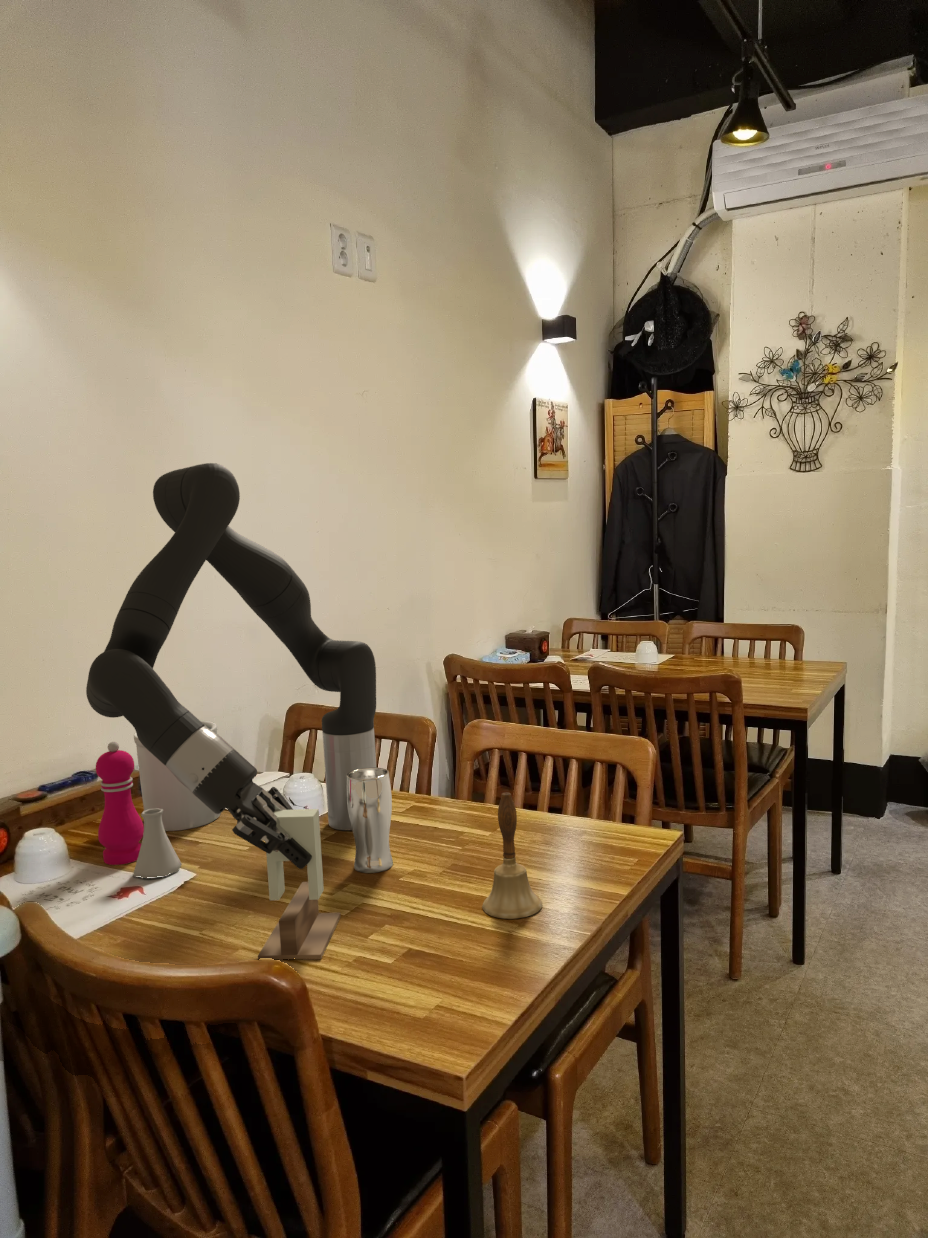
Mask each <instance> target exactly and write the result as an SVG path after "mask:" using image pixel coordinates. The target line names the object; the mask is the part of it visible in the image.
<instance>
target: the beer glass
mask: <svg viewBox="0 0 928 1238" xmlns="http://www.w3.org/2000/svg"><path fill="white" fill-rule="evenodd" d="M392 803H393V799H392V788H391V779H390V771H389V770H388V769H386V768H383V767H377V768H362V769H357V770H353V771H351V772H349V773H348V774H347V806H348V813H349V818H350V822H351V826H352V830H351V831H352V834H353V838H354V844H355V855H354V857H355V858H354V863H353V865H354V866H353V867H354V869H355V871H356V872H359V873H364V874H375V873H381V872H385V871H387V870H390V868H392V867H393V864H394V861H393V856H392V853H391V848H390V831H391V829H390V828H391V820H392V809H393V804H392Z"/></svg>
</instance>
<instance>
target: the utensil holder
mask: <svg viewBox="0 0 928 1238" xmlns="http://www.w3.org/2000/svg"><path fill="white" fill-rule="evenodd" d="M199 720H200V721H201V722H202V723H203V724H204V725H205V726H207V727H208V728H209V729H210V730H212V731H213V732H215V733H216V734H218V725H217V723H215V722H213V721H210V720H203V719H199ZM133 740H134V741H133V742H134V743H135V745H136V746H135V747H136V755H137V764H138V773H139V780H140V781H139V783H140V788H141V797H142V799H141V800H142V806H143V811H145V810H148V809H155V808H159V809H163V813H162V823H163V826H164V830H165V832H173V831H174V832H177V831H183V830H189V829H190V830H191V829H194V828H199V827H202V826H206V825H208V824H210V823H212V822H213V821H215V820H217V819H218V818H219V817H220V816H221V813H222V812H221V813H220V814H215V813H214V812H213V811H212V810H211V809H210V808H208V807H207V806H206V805H205V804H204V803H203V802H202V801H201V800H200V799H198V798H197V797H196V796H195V795H194V794H193V793H192V792H191V791H190V790H188V789H187V788H186V787H185V786H184V785H183V784H182V783H181V782H180V781H179V780H178V779H177V778H176V777H175V776H174V775H173V774H172V772H171V771H170V770H169V769H168V768H167V767H166V765H164V764H163V763H162V762H161V761H159V760H158V759H157V758H156V757H155V756H154V755H153V754H152V753H151V752H149V751H148V750H147V749H146V748H145V747H144V746H143V745H142V743H141V742H140V741H139V739H138V737H137V733H136V731H135V732H134V734H133Z"/></svg>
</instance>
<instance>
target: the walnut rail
mask: <svg viewBox="0 0 928 1238" xmlns="http://www.w3.org/2000/svg"><path fill="white" fill-rule="evenodd" d="M319 908H320V907H319V900H309V887H308V881H302V882H301V883H300V885H299V887H298V889H297V890H296V892H295V893H294V895H293V896H292V898H291V900H290V901H289V903H288V905H287V907H286V908H285V910H284V912H283V913H282V915H281V916H280V918H279V920H278V922H277V923H276V925H275V927H274V928H273V930H272V931H271V933H270V935H269V936H268V938H267V940H266V941H265V943H264V945H263V947H262V948H261V949H260V951H259V952H258V954H257V960H258V959H260V958H272V959H279V961H284V960H283V959H288V960H287V961H289V959H294V958H295V959H303V960H322V959H323V957H322V956H324V954H325V952H326V950H327V948H328V946H329V943H330V942H331V938H332V937H333V935H334V932H335V930H336V928H337V925H338V923H339V922H340V919H341V916H342V915H341V912H320V911H319ZM326 947H327V948H326ZM324 951H325V952H324Z"/></svg>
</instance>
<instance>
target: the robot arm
mask: <svg viewBox="0 0 928 1238" xmlns="http://www.w3.org/2000/svg"><path fill="white" fill-rule="evenodd" d="M152 490H153V491H152V497H153V502H154V506H155V508H156V511H157V513H158V515H159V516H160V517H161V519H162V520H163V522H164V523H165V524H166V525H167V527H169V528H170V529H171V530H172V531H173V532H174V533H173V535H172V536H171V537H170V539H169V540H168V541H167V543H165V544H164V546H163V547H162V548H161V549H160V550H159V552H158V553H156V555H155V556H154V557H153V558H152V559H151V560H150V561H149V562H148V563H147V564H146V565H145V566H144V568H143V569H142V570H141V571H140V572H139V574H138V575H137V576H136V578H135V579H134V581H133V582H132V584H131V585H130V588H129V589H128V591H127V593H126V594H125V598H124V600H123V601H122V604H121V606H120V608H119V610H118V612H117V615H116V617H115V620H114V623H113V626H112V629H111V630H112V631H111V634H110V638H109V640H108V643H107V645H106V647H105V648H104V650H103V652H101V653H100V654H98V655H97V657H95V659H94V660H93V662H92V663H91V665H90V667H89V671H88V676H87V683H86V687H85V693H86V698H87V701H88V703H89V705H90V707H91V709H93V710H94V711H95V712H96V713H97V714H98V715H101V716H102V717H106V718H121V717H124V718H125V719H126V720H127V721H128V722H129V724H131V726H132V727H133V728H134V730H135V732H136V733H137V737H138V739H139V741H140V742H141V743H142V745H143V746H144V747H145V748H146V749H147V750H148V751H149V752H151V753H152V754H153V755H154V756H155V757H156V758H157V759H158V760H159V761H161V762H162V763H163V764H164V765H166V767H167V768H168V769H169V770H170V771H171V772H172V774H173V775H174V776H175V777H176V778H177V779H178V780H179V781H180V782H181V783H182V784H183V785H184V786H185V787H186V788H187V789H188V790H190V791H191V792H192V793H193V794H194V795H195V796H196V797H197V798H198V799H200V800H201V801H202V802H203V803H204V804H205V805H206V806H207V807H208V808H210V809H211V810H212V811H213V812H214V813H215V814H220V813H223V812H224V811H225V809H227V811H228V812H229V813H230V814H231V815H232V817H233V818H234V819H235V820H236V825H234V826H233V828H232V830H231V831H232V832H233V834H234V835H236V836H237V837H239V838H241V839H242V840H244V841H246V842H248V843H250V845H253V846H255V847H256V848H258V849H259V850H261V851H263V852H265V853H268V854H270V853H271V852H272V851H275V852H278V851H280V852H281V853H282V854H283V855H284V856H285V857H286V858H287V859H289V860H290V861H289V862H291V863H292V864H293V865H294V866H295V867H296V868H298V869H299V870H303V869H304V868H305V867H307V864H308V863H309V862H310V860H311V859H312V856H311V854H310V853H309V852H308V851H306V850H305V849H304V848H303V847H302V846H301V845H300V844H299V843H298V842H296V841H295V840H294V839H293V838H291V837H290V835H289V834H288V833H287V832H286V831H285V830H284V829H283V828H282V827H281V826H280V821H279V819H278V818H277V816H276V815H275V814H274V811H275V810H276V811H282V810H294V808H293V807H292V806H291V805H290V804H289V802H288V801H287V800H286V798H285V797H284V796H283V794H282V793H281V791H279V790H278V788H277V787H275V786H272V787H271V788H270V789H269V790H265V789H264V788H263V787H262V786H260V785H258V784H257V783H255V782H254V781H253V780H254V778H255V777H256V776H257V774H258V769H257V768H256V767H255V766H254V765H253V764H252V763H251V762H249V761H248V760H247V759H246V757H244V756H243V755H242V754H241V753H239V752H238V751H237V750H236V749H235V748H234V747H233V746H231V745H230V743H228V742H227V741H226V740H225V739H224V738H223V737H222V736H220V735H219V734H218V733H217V734H216V733H215V732H213V731H212V730H210V729H209V728H208V727H207V726H205V725H204V724H203V723H202V722H201V721H200V720H201V719H199V718H198V717H197V716H195V715H194V714H193V713H192V712H191V711H190V710H188V708H186V707H185V706H184V705H183V704H181V703H180V702H179V700H178V699H177V697H175V695H174V694H173V692H172V690H171V689H170V688H169V687H168V686H167V684H166V683H165V682H164V681H163V680H162V678H161V677H160V675H158V673H157V672H156V671H155V669H154V667H155V664H156V661H157V658H158V655H159V654H160V650H161V649H162V647H164V644H165V642H166V640H167V638H168V636H169V635H170V632H171V630H172V628H173V625H174V623H175V620H176V617H177V615H178V614H179V611H180V608H181V606H182V604H183V601H184V599H185V597H186V595H187V593H188V591H189V589H190V587H191V586H192V583H193V582H194V580H195V578H196V577H197V575H198V574H199V572H200V570H201V569H202V567H203V565H204V564H205V562H207V563H209V564H210V566H212V567H213V568H214V569H215V571H216V572H217V573H218V574H219V575H220V577H222V578H223V579H224V580H225V581H226V582H227V583H228V584H229V585H230V586H231V587H232V588H233V589H234V591H236V593H237V594H238V595H239V596H240V597H241V599H242V600H243V601H244V602H245V604H247V606H248V607H249V608H250V609H251V610H252V611H253V613H255V614H256V616H257V617H259V618H260V620H261V621H262V622H264V623H265V624H266V626H267V627H268V628H269V629H270V630H271V631H272V632H273V634H274V635H275V636H276V637H277V638H278V639H279V640H280V642H282V644H283V645H284V646H285V647H286V648H287V649H288V651H289V652H290V653H291V655H292V656H293V657H294V659H295V660H296V662H297V663H298V665H299V666H300V667H301V669H302V670H303V672H304V673H305V674H306V676H307V678H308V679H309V680H310V681H311V683H313V684H314V685H315V687H317V688H319V689H320V690H322V691H326V692H332V693H333V692H335V693H339V696H340V698H339V706H338V707H337V709H334V710H332V711H329V712H327V713H324V715H323V716H322V717H321V731H322V744H323V757H324V758H323V760H324V774H325V775H324V776H325V787H326V788H325V789H326V805H327V820H328V826H329V827H330V828H332V829H335V830H339V831H353V830H352V826H351V822H350V818H349V813H348V806H347V774H348V773H349V772H351V771H353V770H357V769H362V768H378V767H377V755H376V742H375V741H376V740H375V739H376V737H375V728H374V727H375V725H374V723H375V722H374V719H375V715H376V711H377V667H376V659H375V655H374V652H373V651H372V649H371V647H370V646H369V644H367V643H365V642H362V641H358V640H334V639H333V638H330V637H329V636H328V635H326V634H325V633H324V632H323V631H322V629H321V628H320V627H319V626H318V625H317V624H316V623H315V621H314V620H313V618H312V608H311V607H312V604H311V597H310V593H309V590H308V588H307V586H306V585H305V583H304V582H303V581H302V579H301V577H300V576H299V575H298V574H297V573H296V572H295V570H294V569H293V568H292V567H291V566H290V565H289V563H288V562H287V561H286V560H285V559H284V558H283V557H281V556H280V555H278V554H277V553H275V552H274V551H272V550H271V549H268V548H267V547H265V546H264V545H262V544H259V543H257V542H256V541H253V540H251V539H250V538H248V537H246V536H244V535H242V534H240V533H239V532H237V531H235V530H234V529H233V528H232V527H230V524H231V523H232V521H233V519H234V517H235V516H236V513H237V511H238V509H239V504H240V499H241V498H240V497H241V495H240V494H241V493H240V487H239V484H238V480H237V479H236V477H235V476H234V474H233V473H232V472H231V470H230V469H228V468H227V467H226V466H224V465H223V464H220V463H216V462H215V463H213V462H209V463H201V464H196V465H192V466H188V467H184V468H178V469H175V470H171V471H168V472H166V473H164V474H162V475H160V477H158V478H157V479H156V480H155V483H154V485H153V489H152ZM220 815H221V814H220ZM269 822H270V824H269V825H268V826H266V825H267V824H268V823H269ZM274 830H275V831H276V832H275V831H274ZM290 838H291V839H290ZM289 839H290V840H289Z"/></svg>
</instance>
